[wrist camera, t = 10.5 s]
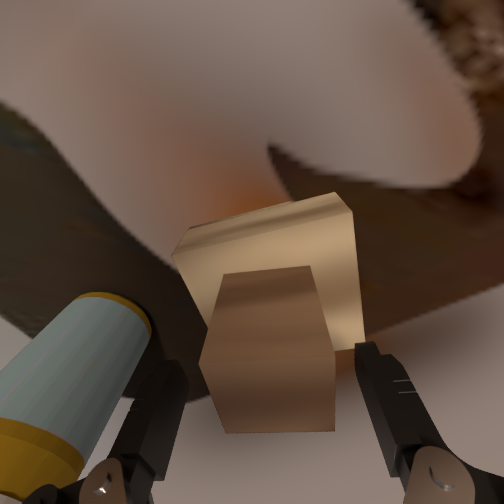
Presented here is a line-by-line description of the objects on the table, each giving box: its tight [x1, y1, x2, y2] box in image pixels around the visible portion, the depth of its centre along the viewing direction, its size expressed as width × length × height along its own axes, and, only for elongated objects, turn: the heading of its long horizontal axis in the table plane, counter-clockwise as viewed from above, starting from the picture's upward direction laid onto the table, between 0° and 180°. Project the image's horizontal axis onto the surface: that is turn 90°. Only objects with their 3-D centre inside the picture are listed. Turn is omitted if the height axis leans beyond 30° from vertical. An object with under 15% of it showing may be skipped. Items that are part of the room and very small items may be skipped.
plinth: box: [171, 192, 365, 351], centre depth 17 cm, size 10×10×4 cm
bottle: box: [0, 292, 152, 504], centre depth 15 cm, size 7×7×15 cm
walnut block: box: [199, 265, 336, 433], centre depth 13 cm, size 5×5×6 cm
